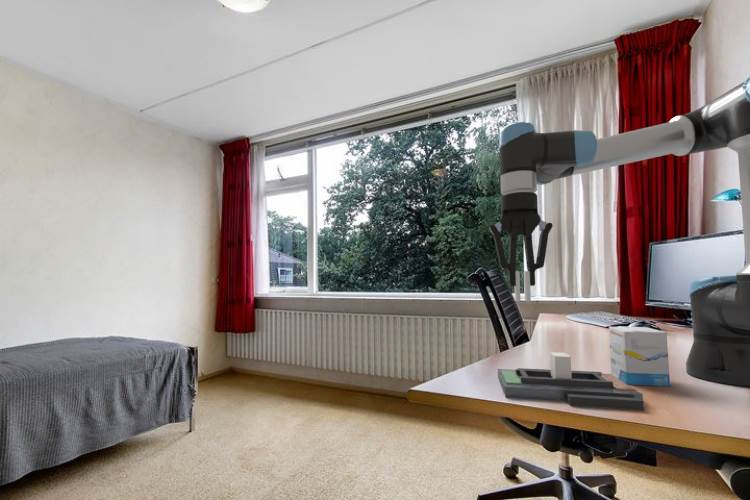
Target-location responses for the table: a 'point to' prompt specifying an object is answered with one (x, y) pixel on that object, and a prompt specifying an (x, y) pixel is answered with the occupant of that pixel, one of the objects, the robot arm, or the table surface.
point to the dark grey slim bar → (571, 371)
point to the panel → (561, 385)
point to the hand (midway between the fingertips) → (522, 301)
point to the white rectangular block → (560, 365)
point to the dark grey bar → (605, 401)
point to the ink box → (639, 355)
